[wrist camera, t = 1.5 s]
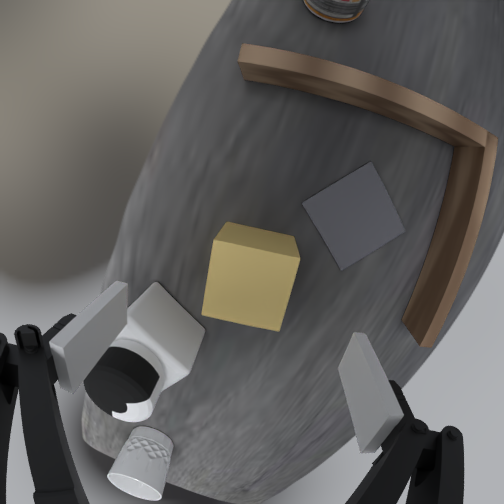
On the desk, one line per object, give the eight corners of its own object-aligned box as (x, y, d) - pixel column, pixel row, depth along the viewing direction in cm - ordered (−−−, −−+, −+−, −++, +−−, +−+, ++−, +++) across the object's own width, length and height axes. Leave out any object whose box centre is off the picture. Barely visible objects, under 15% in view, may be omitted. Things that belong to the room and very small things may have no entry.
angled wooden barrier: (467, 138, 21) (498, 137, 16) (412, 321, 27) (431, 347, 23) (247, 64, 21) (242, 43, 16) (204, 281, 27) (191, 306, 23)
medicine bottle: (119, 316, 29) (61, 384, 18) (157, 279, 28) (96, 349, 16) (165, 360, 31) (126, 439, 19) (207, 329, 29) (175, 417, 18)
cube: (294, 236, 26) (300, 258, 20) (278, 296, 27) (279, 331, 22) (226, 221, 26) (213, 239, 20) (215, 283, 27) (201, 314, 22)
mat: (418, 178, 23) (419, 178, 23) (388, 280, 26) (388, 281, 26) (314, 144, 23) (315, 144, 23) (287, 258, 26) (287, 259, 26)
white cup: (159, 456, 38) (143, 501, 28) (121, 430, 37) (98, 476, 27) (187, 445, 36) (172, 498, 26) (146, 417, 35) (123, 470, 25)
